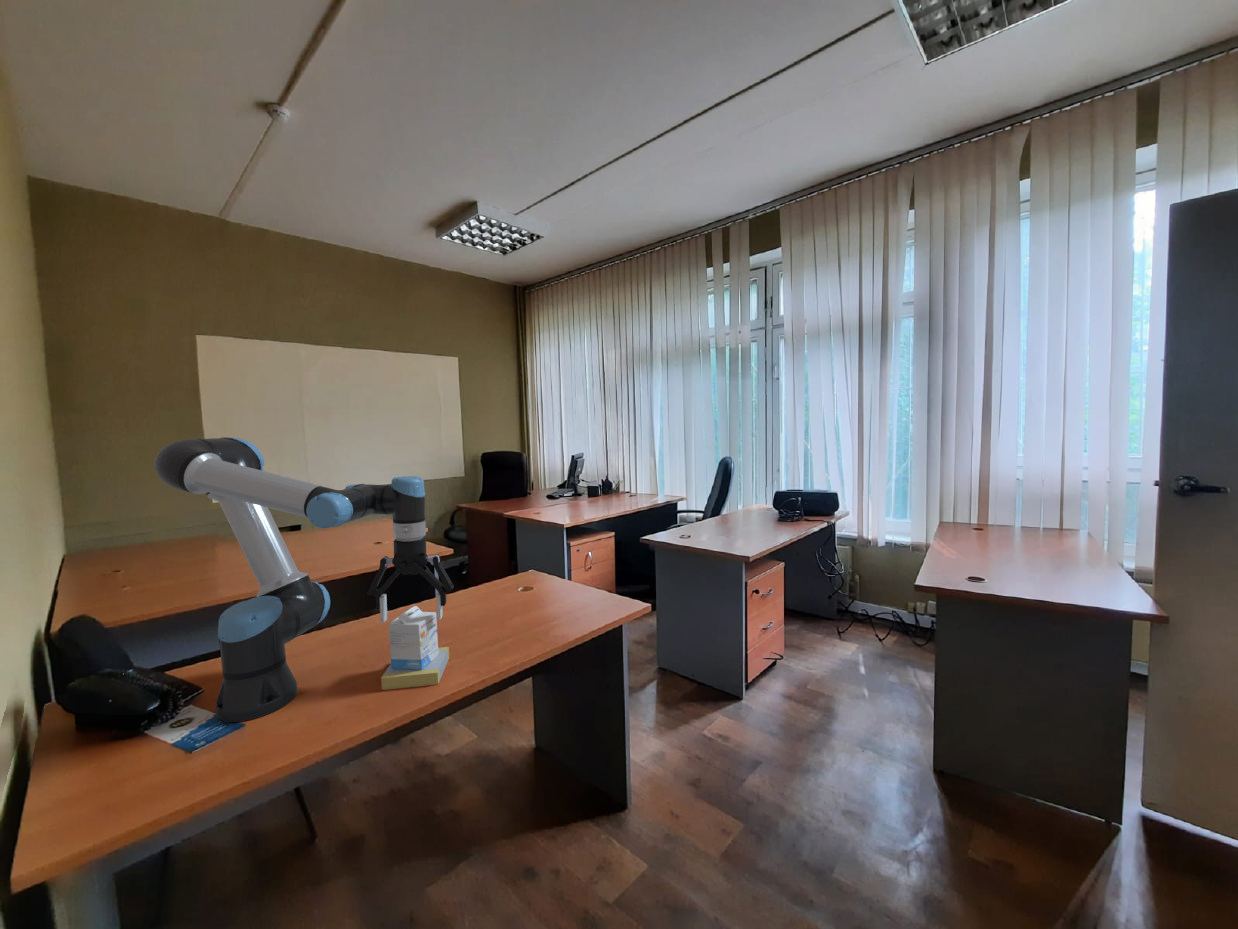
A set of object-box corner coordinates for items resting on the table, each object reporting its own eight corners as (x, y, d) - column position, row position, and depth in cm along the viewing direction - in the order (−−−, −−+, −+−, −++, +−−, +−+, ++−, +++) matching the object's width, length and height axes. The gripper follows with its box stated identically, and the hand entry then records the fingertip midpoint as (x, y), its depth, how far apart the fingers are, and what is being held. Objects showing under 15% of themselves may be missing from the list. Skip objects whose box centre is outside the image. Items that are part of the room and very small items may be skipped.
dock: (381, 690, 114) (381, 678, 114) (399, 662, 128) (398, 651, 128) (438, 684, 116) (437, 672, 116) (449, 657, 130) (448, 646, 130)
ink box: (421, 670, 117) (418, 618, 116) (390, 669, 118) (387, 617, 117) (439, 654, 126) (436, 605, 125) (410, 652, 127) (407, 604, 126)
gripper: (350, 543, 114) (354, 628, 115) (458, 539, 118) (460, 622, 119) (362, 535, 121) (365, 616, 123) (463, 533, 125) (465, 611, 127)
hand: (412, 619), depth 121 cm, fingers open, 13 cm apart
